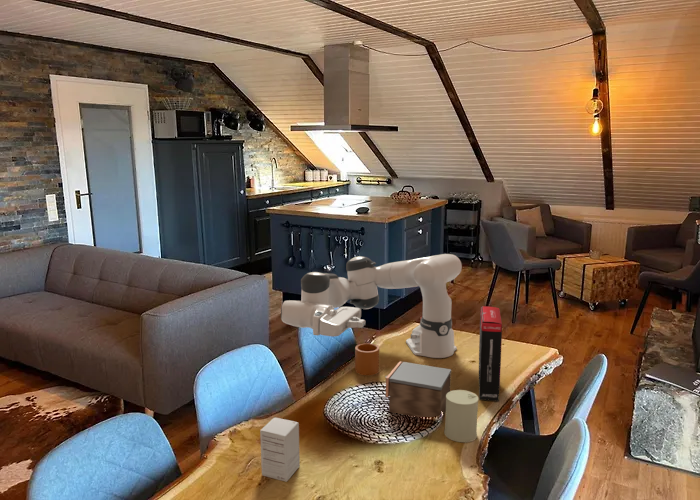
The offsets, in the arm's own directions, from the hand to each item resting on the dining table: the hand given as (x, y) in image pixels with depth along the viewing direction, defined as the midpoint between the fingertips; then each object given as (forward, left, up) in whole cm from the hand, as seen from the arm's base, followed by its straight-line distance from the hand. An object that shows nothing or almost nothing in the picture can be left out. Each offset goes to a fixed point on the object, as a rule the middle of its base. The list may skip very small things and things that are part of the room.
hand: (363, 324), depth 175 cm
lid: (+13, +14, -20) cm, 27 cm away
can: (+31, +18, -25) cm, 44 cm away
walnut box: (+13, +14, -25) cm, 32 cm away
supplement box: (+32, -35, -25) cm, 54 cm away
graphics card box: (+10, +41, -25) cm, 49 cm away
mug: (-20, +10, -25) cm, 34 cm away
